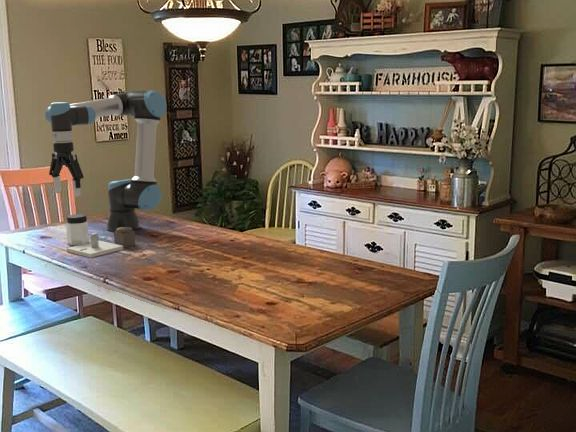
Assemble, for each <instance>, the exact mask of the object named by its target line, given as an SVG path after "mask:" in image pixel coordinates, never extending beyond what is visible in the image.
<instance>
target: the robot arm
mask: <svg viewBox="0 0 576 432" xmlns="http://www.w3.org/2000/svg"><path fill="white" fill-rule="evenodd" d="M166 112H167V101H166V98H165V96H164V95H163V94H162V93H161V92H159V91H157V90H150V89H147V90H129V91H124V92H120V93H116V94H112V95H110V96H108V97H105V98H100V99H95V100H88V101H82V102H75V103H70V102H68V101H67V102H64V101H62V102H59V101H58V102H52V103H50V105H49V107H47V108H46V109H45V113H44V114H45V115H44V116H45V119H46V122H48V123H49V124H51V132H52V133H51V134H52V136H51V137H52V141H53V143H52V145H53V153H51V162H50V167H49V173H48V175H49V176H51V177H52V180H53V182H52V183H53V191H54V194H61V193H62V183H61V175H60V173H61V172H62V169H63V167H64V166H65V167H66V168H67V169H68V171H69V173H70V174H71V176H72V178H73V179H72V186H73V187H72V188H73V196H74V198H76V197H81V196H82V193H81V192H82V190H81V188H82V187H81V179H84V174H83V171H82V168H81V166H80V164H79V161H78V155H77V154H72V152H74V150H75V149H74V148H75V147H74V142H73V140H74V135H73V127H74V126H89V125H91V124H94V123H95V121H96V119H97V118H100V117H106V116H107V117H108V116H112V115H113V116H114V117H119V116H129V117H133V118H134V121H135V122H136V124H137V127H136V128H137V130H136V141H135V142H136V147H135V160H134V163H135V165H134V176H133V177H132V178H127V179H122V180H114V181H110V182H109V183H108V185H107V189H108V190H107V194H108V195H107V196H108V205H109V206H108V207H109V215H108V218H107V222H106V230H107V231H110V232H116V229H117V228H120V227H131V228H132V231H136V230H138V229H140V228H141V227H140V224H141V223H140V221H139V218H138V216H137V213H136V210H137V209H138V210H142V211H146V210H147V211H150V210H153V209H155V208H157V206H158V205H159V204H160V202H161V199H162V191H161V188H160V187H159V186H158V185H157V184H158V183H157V181H158V180H157V179H156V178H155V177H154V176H155V175H154V174H155V160H156V159H155V157H156V144H157V143H156V142H157V129H158V128H157V126H158V124H159V123H160V122H161V118H162V117H163V116H164V115H165V114H166Z"/></svg>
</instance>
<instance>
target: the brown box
mask: <svg viewBox="0 0 576 432" xmlns="http://www.w3.org/2000/svg"><path fill="white" fill-rule="evenodd" d="M113 238H114V244H117V245H122V246H123V249H124V248H128V247H132V246H135V245H136V236H135V230H132V228H131V227H120V228H117V229H116V232H115V231H113Z"/></svg>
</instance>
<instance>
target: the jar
mask: <svg viewBox="0 0 576 432" xmlns="http://www.w3.org/2000/svg"><path fill="white" fill-rule="evenodd" d="M65 226H66V239H67V244H68V245H70V246H78V245H82V244H87V243H90V233H89V221H88V219H87V215H86V214H84V213H83V214H82V213H78V214H77V213H74V214H68V215H67V216H66V223H65Z"/></svg>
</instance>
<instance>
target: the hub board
mask: <svg viewBox="0 0 576 432" xmlns="http://www.w3.org/2000/svg"><path fill="white" fill-rule="evenodd" d="M89 239H90V242H89V243H86V244H82V245H73V246H71V247H66V252H67V253H71V254H75V255H79V256H84V257H87V258H94V257H98V256H102V255H106V254H110V253H113V252H119V251H122V250H124V248H123V246H122V245H117V244H115V243H112V242H108V241H103V240H99V233H97V232H93V233H89Z"/></svg>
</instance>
